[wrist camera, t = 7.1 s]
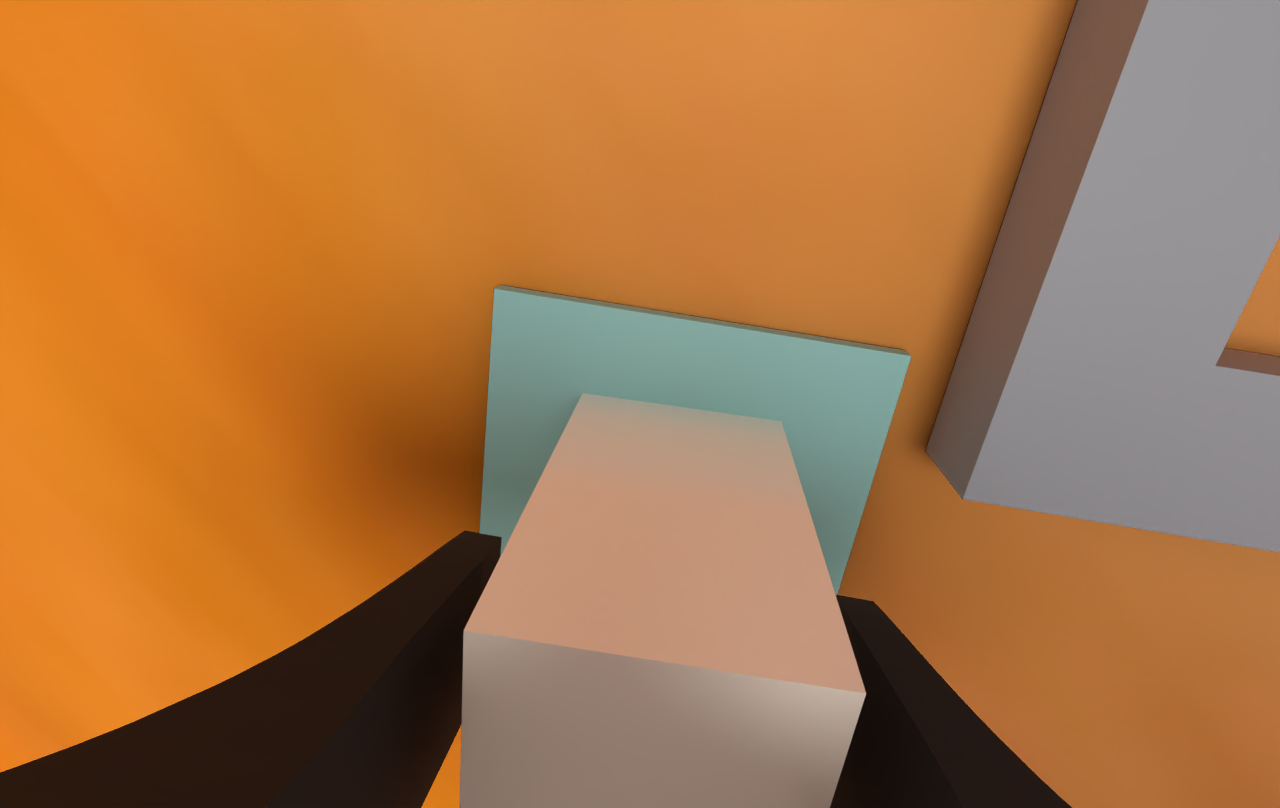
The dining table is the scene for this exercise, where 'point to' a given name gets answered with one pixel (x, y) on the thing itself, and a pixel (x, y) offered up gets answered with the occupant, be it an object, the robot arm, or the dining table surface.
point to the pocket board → (1133, 285)
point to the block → (659, 626)
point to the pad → (684, 396)
